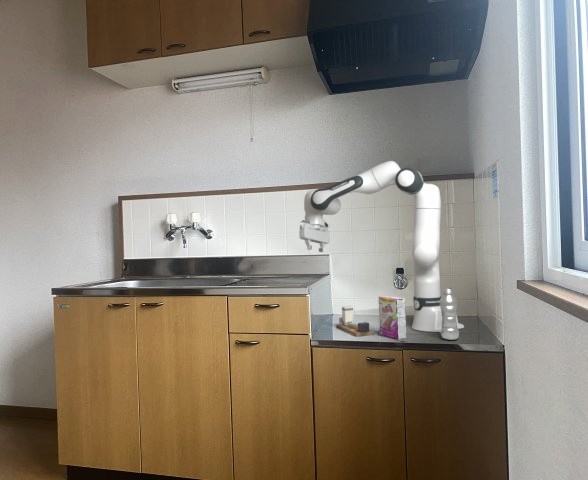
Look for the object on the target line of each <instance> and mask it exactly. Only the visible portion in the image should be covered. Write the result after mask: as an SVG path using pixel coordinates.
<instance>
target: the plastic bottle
mask: <svg viewBox="0 0 588 480" xmlns="http://www.w3.org/2000/svg"><path fill="white" fill-rule="evenodd" d="M442 294H443V295H442V296H441V297H442V298H441V299H440V308H441V315H442V327H441V332H440V336H441V338H442V339H444V340H449V341H454V340H457V339H458V338H459V335H460V332H459V329H458V328H457V320H456V315H457V309H458V301H457V298H456V297H455V296H454V288H452V287H451V288H450V287H448V288H445V287H444V288H443V289H442Z"/></svg>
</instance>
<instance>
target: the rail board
mask: <svg viewBox="0 0 588 480" xmlns="http://www.w3.org/2000/svg"><path fill="white" fill-rule="evenodd" d="M336 329H338V330H339V331H340V330H341V331H342V332H346V334H349V335H352V336H353V337H357V338H359V337H365V336H367V337H368V336H373V335H375V334H374V332H375V331H374V330H371V329H369V332H363V333H360V332H358V330H357V329H354V328H351V327H349V326H346V325H344V321H343V320H342V317H339V318H338V324H336Z"/></svg>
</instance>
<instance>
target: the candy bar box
mask: <svg viewBox="0 0 588 480" xmlns="http://www.w3.org/2000/svg"><path fill="white" fill-rule="evenodd" d="M378 311H379V312H378V314H379V315H378V316H379V317H378V318H379V319H378V320H379V335H380V336H383V337H387V338H390V339H394V340H397V341H401V340H405V339H407V338H408V337H407V316H406V315H407V313H406V312H407V311H406V298H403V297H397V296H392V295H382V296H378Z"/></svg>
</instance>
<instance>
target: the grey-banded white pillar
mask: <svg viewBox="0 0 588 480" xmlns="http://www.w3.org/2000/svg"><path fill="white" fill-rule="evenodd" d="M341 316H342V317H341V318H342V320H343V321H344V325H346V326H347V322H352V323H353V322H354V307H353V306H352V305H346V306H341Z"/></svg>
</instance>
